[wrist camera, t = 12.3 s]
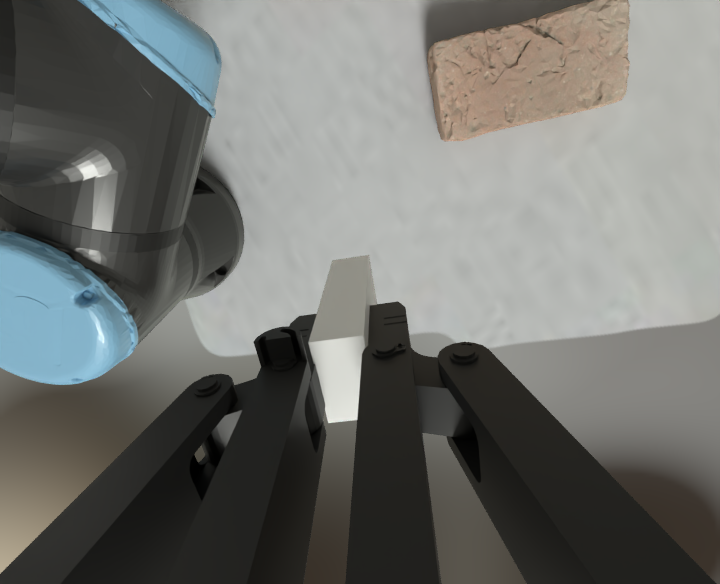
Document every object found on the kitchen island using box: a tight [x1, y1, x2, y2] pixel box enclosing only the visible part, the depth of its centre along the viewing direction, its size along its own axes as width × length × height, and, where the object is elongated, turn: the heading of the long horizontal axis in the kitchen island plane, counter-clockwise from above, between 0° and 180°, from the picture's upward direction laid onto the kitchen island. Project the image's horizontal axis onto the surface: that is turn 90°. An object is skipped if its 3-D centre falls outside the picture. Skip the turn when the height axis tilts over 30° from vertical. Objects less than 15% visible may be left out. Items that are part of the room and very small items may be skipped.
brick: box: [427, 0, 630, 141], centre depth 39 cm, size 17×8×5 cm, turn 103°
